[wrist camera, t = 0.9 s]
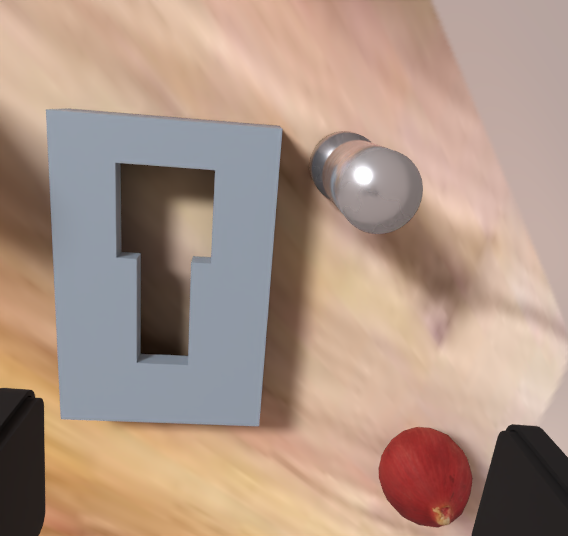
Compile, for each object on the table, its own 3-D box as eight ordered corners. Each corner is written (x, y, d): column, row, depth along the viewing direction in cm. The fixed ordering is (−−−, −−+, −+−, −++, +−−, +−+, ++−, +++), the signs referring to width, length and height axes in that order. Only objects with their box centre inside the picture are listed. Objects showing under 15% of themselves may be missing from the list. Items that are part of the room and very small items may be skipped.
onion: (463, 442, 39) (516, 527, 31) (400, 487, 39) (436, 580, 32) (417, 389, 37) (461, 464, 29) (352, 437, 38) (378, 522, 30)
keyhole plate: (68, 108, 30) (45, 109, 27) (279, 125, 31) (282, 128, 28) (78, 390, 35) (60, 419, 32) (258, 397, 36) (259, 426, 33)
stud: (312, 128, 31) (339, 140, 22) (379, 134, 32) (434, 148, 22) (306, 196, 32) (329, 235, 23) (370, 200, 33) (419, 241, 23)
